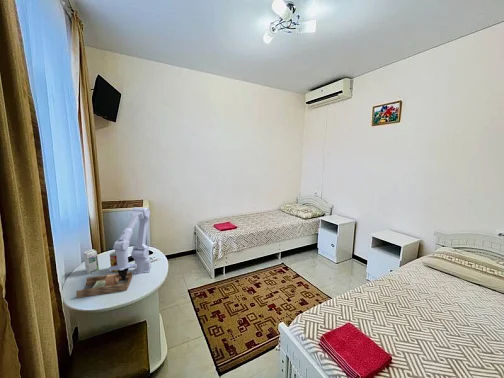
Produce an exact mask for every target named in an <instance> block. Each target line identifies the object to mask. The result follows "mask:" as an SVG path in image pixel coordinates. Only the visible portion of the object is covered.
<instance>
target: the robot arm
mask: <svg viewBox="0 0 504 378" xmlns="http://www.w3.org/2000/svg"><path fill="white" fill-rule="evenodd" d="M130 215H131V217H130V219H129V221H128V224H127V226H126V228H125V229H123V230H122V232H121V234H120V236H119V238H118V239H117V240H116V241H114V244H113V246H112V249H113V251H114V252H116V255H117V266H113V267H111V266H110V267H109V268H108V271H109V272H112V271H113V270H118V272H117V274H119V275H120V276H121V278H122V280H123V281H125V280H126V275H127V272H129V269H134V272H133V274H134V275H135V274H144V273H149V272H150V270H151V268H152V266H151V265H152V264H151V256H150V257H149V255H150V252H149V250H150V249H149V246H148V245H147V244H146V241H147V233H148V226H149V225H148V224H149V220H150V215H151V211H150V209H149V208H148V207H133V208H132V209H131V212H130ZM137 223H139V224H138V232H137V240H136V244H135V245H134V246H132V251H131V252H130V254H131V255H130V256H131V258H133V261H134V263H129V256H128V249H129V248H130V242H131V238H132V236H133V234H134V231H133V230H134V228H135V226H136V225H137Z"/></svg>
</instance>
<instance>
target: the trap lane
mask: <svg viewBox="0 0 504 378" xmlns="http://www.w3.org/2000/svg"><path fill="white" fill-rule="evenodd" d="M115 274H116V280H117V281H116V283H115V284H114V285H109V286H106V284H105V278H106V277H107V275H108V274H106V275H99V276H98V275H97V276H91V277H86V282H85V286H84V288H82V289H78V290H76V291H75V293H76V294H75V295H76V298H77V299H78V298H85V297H91V296H98V295H99V296H100V295H104V294H111V293H118V292H125V291H128V289H129V286H130V284H131V282H132V279H133V272H132V271H128V272H127V275H126V280H125V281H123V280H122V278H121V276H120V275H119V274H118V273H115Z"/></svg>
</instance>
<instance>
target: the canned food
mask: <svg viewBox="0 0 504 378" xmlns="http://www.w3.org/2000/svg"><path fill="white" fill-rule="evenodd" d="M109 261H110V267H113V266H117V255H116V252H115V251H113V252H112V251H111V253H109ZM111 272H112V273H118V270H113V271H111Z"/></svg>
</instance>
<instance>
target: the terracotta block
mask: <svg viewBox="0 0 504 378" xmlns="http://www.w3.org/2000/svg"><path fill="white" fill-rule="evenodd" d="M116 274H117V273H114V274H106V275H107V277H106V278H105V284H106V286H109V285H114V284H115V283H116V281H117V280H116Z"/></svg>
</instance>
